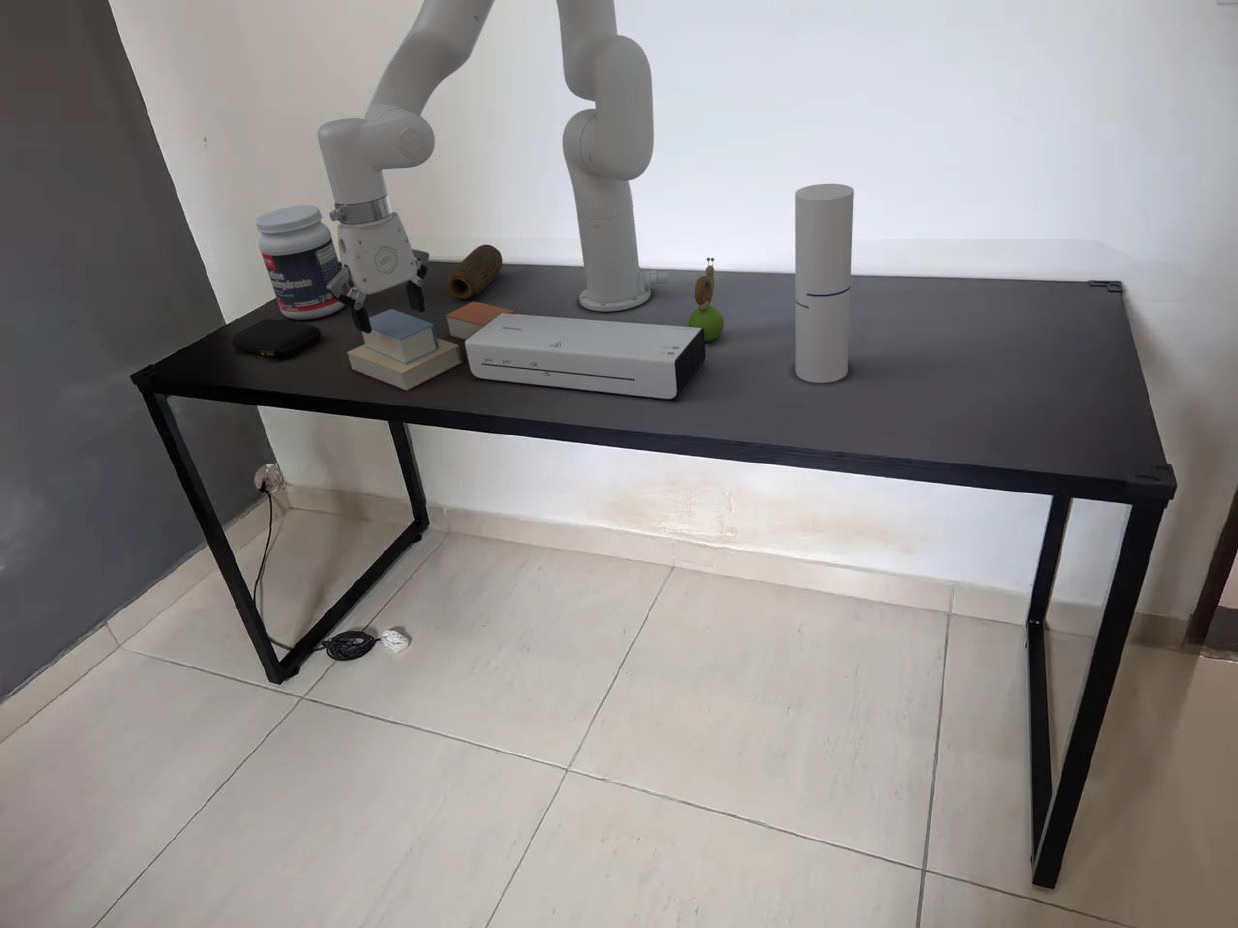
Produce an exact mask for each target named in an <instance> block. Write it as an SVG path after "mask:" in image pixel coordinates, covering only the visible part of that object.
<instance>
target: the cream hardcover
mask: <svg viewBox="0 0 1238 928" xmlns="http://www.w3.org/2000/svg"><path fill="white" fill-rule="evenodd" d="M437 341H438V345H439V349H440V350H438V351H436V352H434V353H432V354H430V355H427V356H425V357H423V358H421V359H419V360H416V361H414V362H412V363H410V364H408V365H406V364H403V363H401V362H399V361H396V360H394V359H392V358H389V357H387V356H384V355H382V354H380V353H377V352H375V351H373V350H370V349H368V348H366V347H365V346H366V345H365V343H364V344H362V345H360V346H357V347H356V348H352V349H351V350H348V351H347V352H346V355H347V356H348V359H349V362H350V365H351V370H353V371H355V372H358V373H361V374H363V375H366V376H369V377H371V378H373V379H376V380H379V381H381V382H384V383H387V384H388V385H391V386H393V387H397V388H399V389H402V390H405V391H409V390H411V389H413V388H415V387H417V386H419V385H421V384H423V383H425V382H427V381H428V380H431V379H432V378H435V377H437V376H438V375H440V374H443V373H445V372H446V371H448V370H450V369H452V368H454V367H457V366H458V365H460V364H462V363H463V358H462V355H461V350H460V345H459V344H456V343H453V342H449V341H447V340H444V339H441V338H437Z"/></svg>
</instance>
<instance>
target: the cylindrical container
mask: <svg viewBox="0 0 1238 928" xmlns="http://www.w3.org/2000/svg"><path fill="white" fill-rule="evenodd" d="M854 195H855V190H854V188H853V187H852V186H849V185H846V184H841V183H819V184H812V185H807V186H803V187H801V188H799V189H797V190H796V191H795V193H794V233H795V234H794V239H795V240H794V243H795V244H794V246H795V249H794V250H795V251H794V252H795V253H794V254H795V255H794V258H795V260H794V263H795V265H794V268H795V269H794V271H795V272H794V274H795V275H794V277H795V279H794V280H795V281H794V283H795V285H794V286H795V287H794V289H795V290H794V291H795V292H794V293H795V295H794V296H795V298H794V299H795V300H794V301H795V304H794V305H795V306H794V307H795V309H794V310H795V311H794V312H795V321H794V324H795V332H794V333H795V335H794V336H795V337H794V339H795V351H794V353H795V359H794V361H795V365H794V367H795V374H796V376H797V377H798V378H799V379H800V380H803V381H806V382H808V383H809V382H810V383H815V384H825V383H833V382H836V381H839V380H842V379H844V378H845V377H846V376H847V375H848V371H849V345H850V344H849V342H850V316H851V315H850V311H851V310H850V309H851V287H852V286H851V283H852V258H853V257H852V256H853V255H852V254H853V253H852V252H853V251H852V250H853V226H854V225H853V223H854V222H853V221H854V197H855V196H854Z"/></svg>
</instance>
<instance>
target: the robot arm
mask: <svg viewBox="0 0 1238 928" xmlns="http://www.w3.org/2000/svg"><path fill="white" fill-rule="evenodd" d="M555 1H556V6H557V11H558V19H559V30H560V42H561V53H562V67H563V77H564V81H565V84H566V87H567V89H568V90H569V91H570V92H571V93H572V94H573V95H574V96H575V97H578V98H580V99H581V100H586V101H589V102H594V105H595V108H587V109H583V110H580V111H578V112H576V113H574V115H572V116H571V118H570V119H569V120H568V121H567V123H566V124H565V127H564V129H563V134H562V140H561V142H562V143H561V144H562V152H563V156H564V161H565V164H566V168H567V171H568V174H569V178H570V181H571V186H572V190H573V191H572V192H573V196H574V203H575V211H576V218H577V225H578V234H579V241H580V245H581V246H580V247H581V256H582V261H583V269H584V277H585V284H586V288H585V289H584V290H582V292H581V293H580V294H579V297H578V298H579V303H580V305H581V306H582V307H583V308H585V309H586V310H589V311H593V312H601V313H602V312H604V313H605V312H606V313H607V312H608V313H609V312H619V311H625V310H630V309H633V308H635V307H638V306H641V305H642V304H645V302H647V301H648V300H649V299H650V298H651V286H652V285H660V284H661V285H662V284H667V283H668V273H667V271H661V272H658V270H657V269H652V270H649V271H644V270H642V269H641V267H640V265H639V264H640V263H639V253H638V252H639V251H638V243H637V233H636V225H635V214H634V201H633V193H632V188H631V185H630V181H633V180H635V179H637V178H639V177H640V176H642V175H643V174H644V173H645V172H646V170H647V169H648V167H649V166H650V164H651V161H652V158H653V154H654V145H655V123H654V122H655V121H654V97H653V96H654V95H653V75H652V70H651V65H650V62H649V60H648V57H647V55H646V52H645V51H644V49H643V48H642V46H641V45H640V44H639V43H638V42H636V41H635V40H634V39H632V38H630V37H628V36H625V35H620V34H618V27H617V17H616V8H615V0H555ZM495 2H496V0H423V2H422V4H421V7H420V9H419V11H418V14H417V16H416V18H415V20H414V21H413V25H412V26H411V28H410V29H409V31H408V32H407V34H406V36H405V37H404V38H403V39H402V42H401V43H400V45H399V47H398V48H397V50H396V51H395V53H394V54H393V56H392V57H391V58H390V61H389V62H388V63H387V66H386V67H385V69H384V71H383V73H381V74H382V75H381V76H380V78H379V81H378V83H377V85H376V87H375V90H374V92H373V95H372V97H371V99H370V102H369V104H368V107H367V109H366V112H365V115H364V118H359V117H349V118H348V117H346V118H340V119H334V120H331V121H328V122H325V123H323V124H321V125H320V127H319V128H318V130H317V140H318V144H319V148H320V152H321V156H322V160H323V163H324V167H325V170H326V174H327V178H328V181H329V185H330V189H331V192H332V196H333V197H332V198H333V200H334V204H333V206H334V210H332V211H330V212H329V218H330V220H331V221H332V222H336V221H338V222H339V224H337V242H338V244H337V245H338V251H339V258H340V263H341V267H342V268H341V271H340V272H339V273H338V274H337V275H336V276H335V277H334V278H333V279H332V281H331V282H330V283H329V284H328V285H327V290H328V291H329V292H330V293H331V294H332V295H333V296H334V297H335V298H336V300H337V301H339V302H341V303H343V304H345V306H346V307H348V308H349V310H350V313H351V317H352V320H353V321H352V322H353V325H354V326H355V328H356V329H357V330H358V331H360V332H361V333H362V332H365V333H367V334H368V333H371V331H372V328H371V325H370V321H369V318H370V316H369V314H368V313H369V312H368V310H367V308H366V307H364V306H363V304H364V302H365V300H366V297H367V296H369V295H373V294H377V293H379V292H383V291H385V290H388V289H390V288H393V287H396V286H398V285H401V284H404V283H406V282H407V283H406V284H405V291H406V295H407V300H408V304H409V307H410V310H413V311H416V312H420V313H423V312H425V311H426V309H425V297H424V294H423V289H422V286H423V285H424V279H425V277H426V274H427V273H428V264H429V259H430V253H429V251H428V252H427V251H425V250H424V251H423V250H420V249H415V248H412V246H411V243H410V240H409V237H408V234H407V231H406V229H405V227H404V225H403V222H402V220H401V218H400V216H399V213H397V212H394V211H393V210H392V207H391V203H390V197H389V194H388V190H387V185H386V181H385V177H384V171H383V170H394V169H410V168H415V167H419V166H421V165H423V164H425V162H426V161H428V160H429V159H430V158H431V156H432V155H433V153H434V150H435V147H436V137H435V133H434V130H433V128H432V126H431V125H430V123H429V122H428V121H427V120H426V119H425V118H424V117H422V114H423V110H424V109H425V106H426V105H427V103H428V101H429V100H430V97H431V96H432V94H433V93H434V91H435V90H436V89H437V88H438V86H439V85H440V84H441V83H442V82H443V81H444V80H445V79H446V78H448V77H450V76H451V75H452V74H454V73H455V72H456V71H458V70H459V69H461V67H462V66H464V65H465V64H466V63H467V62H468V60H469V59H470V58H471V56H472V54H473V52H474V49H475V47H476V45H477V43H478V40H479V38H480V35H481V33H482V31H483V29H484V26H485V24H486V22H487V19H488V17H489V15H490V13H491V11H492V8H493V6H494V4H495ZM344 284H345V285H347V287H348V289H349V291H348V296H347V295H345V294H344V293H343V291H342V289H341V288H342V286H343V285H344Z"/></svg>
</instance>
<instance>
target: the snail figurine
mask: <svg viewBox="0 0 1238 928" xmlns="http://www.w3.org/2000/svg"><path fill="white" fill-rule="evenodd" d="M710 261H711V262H712V263H714V261H715V258H714V257H707V258H706V262H708V265H707V266H706V268H705V273H706V275H701V276H700V277H698V279H697V281H696V283H695V286H694V300H695V303H697V304H698V306H697V308H696V309H694V310H693V311H692V313H691V314H690V315H689V318H688V323H687V325H688V326H687V327H694V328H703V329H704V338H705V343H706V342H707V343H708V342H712V341H714V340H716V339H717V338H718V337H719V336H721V334H722V332H723V331H724V326H725V320H724V317H723V314H722V313H721V312H720V311H719V310H718V309H717V308H716V307H714V306H711V303H712V300H713V297H714V288H715V276H714V275H715V267H714V264H712V265H710Z"/></svg>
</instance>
